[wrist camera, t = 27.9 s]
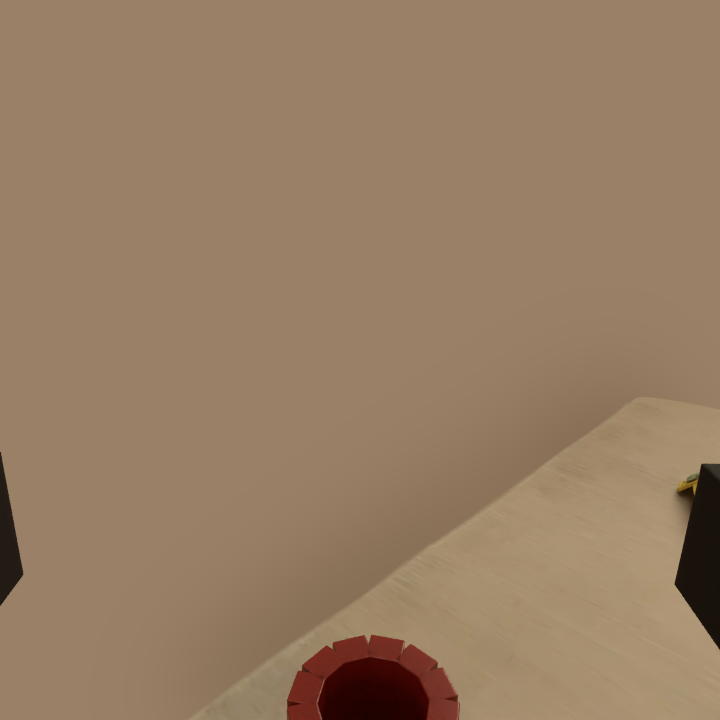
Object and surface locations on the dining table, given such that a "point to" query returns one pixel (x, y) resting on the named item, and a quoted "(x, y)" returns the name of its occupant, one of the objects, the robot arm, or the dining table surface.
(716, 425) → the dining table surface
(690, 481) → the necklace
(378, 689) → the ring
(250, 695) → the dining table surface
